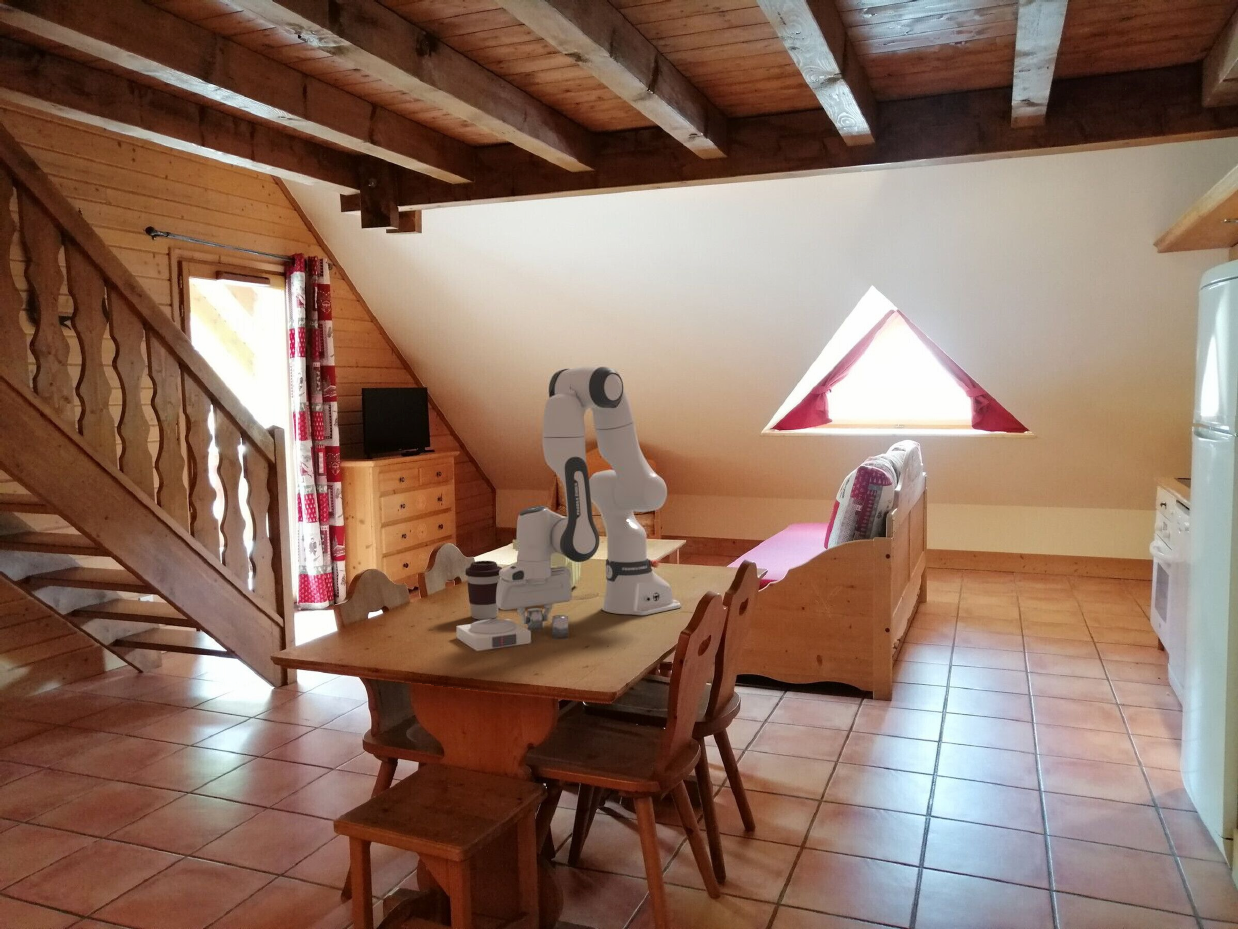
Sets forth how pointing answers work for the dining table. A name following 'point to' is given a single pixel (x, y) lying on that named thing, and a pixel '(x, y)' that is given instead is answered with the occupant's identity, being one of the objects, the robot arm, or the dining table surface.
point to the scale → (493, 634)
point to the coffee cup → (483, 589)
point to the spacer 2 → (560, 626)
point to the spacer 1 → (535, 619)
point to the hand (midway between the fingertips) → (535, 622)
